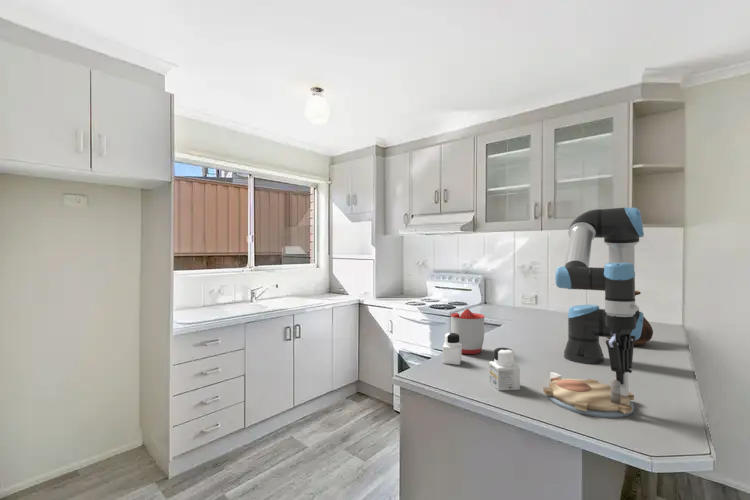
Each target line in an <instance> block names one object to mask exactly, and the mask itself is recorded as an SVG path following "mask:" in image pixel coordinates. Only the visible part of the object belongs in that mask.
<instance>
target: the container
mask: <svg viewBox="0 0 750 500" xmlns="http://www.w3.org/2000/svg"><path fill="white" fill-rule="evenodd" d="M493 351H494V352H493V353H494V355H493V357H494V358H493V359H494V360H493V361H492V360H491V361H489V363H488V365H489V367H488V368H489V370H488V371H489V373H488V375H489V377H488V378H489V380H488V381H489V383H490V384H491V386H493V387H494V388H495V389H496V390H497V391H520V389H521V376H520V375H521V372H520V371H521V368H520V367H519V366H518V365H517V364H515V351H514V350H513V349H511V348H508V347H497V348H495V349H494V350H493Z"/></svg>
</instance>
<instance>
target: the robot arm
mask: <svg viewBox="0 0 750 500" xmlns="http://www.w3.org/2000/svg"><path fill="white" fill-rule="evenodd" d="M643 226H644V225H643V219H642V215H641V210H640V209H639V208H637V207H615V208H613V207H612V208H601V209H599V208H598V209H596V208H595V209H590V210H588V211H585V212H584V213H582V214H579V216H577V217H576V218H574V220H573V221H572V222H571V224H570V226H569V227H568V237H569V241H568V247H567V250H566V256H565V262H564V265H562V266H558V267H556V269H555V276H554V278H555V285H556V287H557V288H559V289H566V290H567V289H568V290H582V291H583V290H584V291H588V290H589V291H604V309H603V308H600V306H599V305H598V304H580V305H573V306H570V307H569V308H568V314H567V320H568V321H567V322H568V324H567V325H568V328H567V329H568V332H567V333H568V335H567V336H568V338H567V339H568V340H567V342H566V345H565V348H564V350H563V357H564V358H565V359H566V360H569V361H573V362H575V363H576V362H577V363H579V364H581V363H583V364H595V365H596V364H602V363H604V362H605V356H604V353H603V349H602V348H601V343H600V337H602V338H606V337H608V338H611V339H608V338H607V339H606V340H605V344H606V346H607V351H608V357H609V358H608V359H609V364H610V370H611V371H612V372H615V380H618V381H620V394H621V395H624V396H628V392H629V373H630V374H631V373H633V370H632V368H633V358H634V357H633V356H634V347H635V345H634V342H635V340H638V339H639V338H640V336H641V332H642V326H643V316H644V312H642V311H640V307H639V306H638V305H637V304H636V296H635V291H636V282H635V281H636V272H635V257H636V256H635V255H636V254H635V248H636V247H635V246H636V245H638V243H639V242H640V238H643V237H645V234H644V227H643ZM595 238H597V239H598V238H600V239H601V238H602V239H603V240H604V241H603V243H604V244H606V245H607V246H608V262H607V263H605V264H604V266H603V267H594V266H593V267H590V259H591V251H592V242H593V240H594V239H595Z"/></svg>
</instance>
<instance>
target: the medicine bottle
mask: <svg viewBox="0 0 750 500" xmlns="http://www.w3.org/2000/svg"><path fill="white" fill-rule="evenodd" d="M462 355H463V354H462V345H461V344H459V335H458V334H456V333H451V332H447V333H445V335H444V343H443V346H442V364H447V365H456V366H460V365H461V362H462V361H463V360H462Z"/></svg>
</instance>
